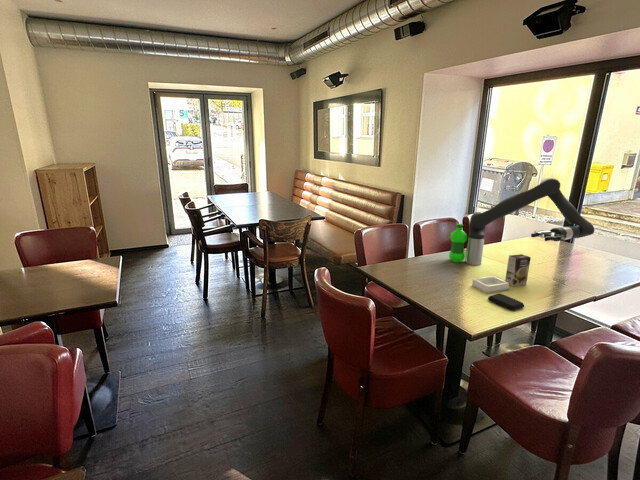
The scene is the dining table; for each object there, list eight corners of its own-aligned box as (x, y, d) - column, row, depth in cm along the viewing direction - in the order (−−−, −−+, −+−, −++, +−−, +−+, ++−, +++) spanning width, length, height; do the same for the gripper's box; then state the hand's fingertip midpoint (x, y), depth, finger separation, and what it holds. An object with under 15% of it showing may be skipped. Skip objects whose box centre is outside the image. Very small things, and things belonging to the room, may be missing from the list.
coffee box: (513, 286, 191) (517, 258, 187) (504, 282, 197) (508, 255, 193) (526, 284, 193) (531, 257, 189) (517, 280, 199) (521, 253, 195)
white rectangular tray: (472, 285, 193) (472, 279, 192) (492, 282, 197) (493, 275, 196) (487, 293, 183) (488, 286, 181) (508, 290, 187) (509, 283, 186)
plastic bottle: (467, 263, 228) (471, 226, 221) (450, 263, 228) (454, 226, 222) (461, 258, 238) (465, 222, 231) (445, 258, 238) (449, 222, 231)
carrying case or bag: (527, 308, 167) (500, 296, 180) (528, 302, 166) (501, 291, 179) (512, 313, 162) (485, 300, 175) (513, 307, 162) (486, 295, 174)
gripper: (550, 224, 202) (528, 227, 197) (574, 229, 188) (551, 233, 184) (548, 237, 204) (526, 240, 199) (572, 243, 190) (549, 247, 186)
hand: (538, 237), depth 192 cm, fingers open, 8 cm apart
